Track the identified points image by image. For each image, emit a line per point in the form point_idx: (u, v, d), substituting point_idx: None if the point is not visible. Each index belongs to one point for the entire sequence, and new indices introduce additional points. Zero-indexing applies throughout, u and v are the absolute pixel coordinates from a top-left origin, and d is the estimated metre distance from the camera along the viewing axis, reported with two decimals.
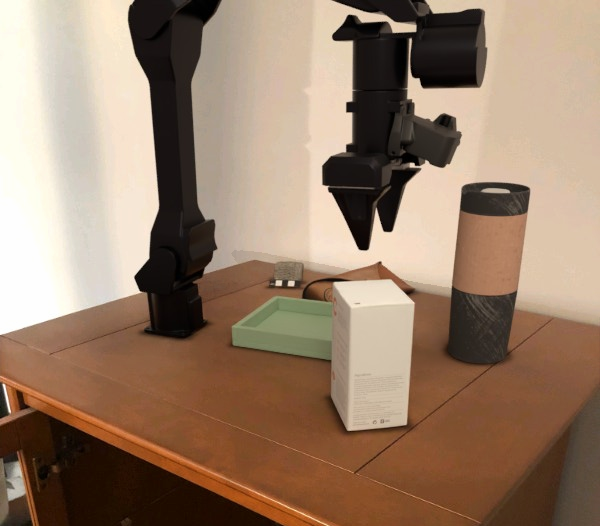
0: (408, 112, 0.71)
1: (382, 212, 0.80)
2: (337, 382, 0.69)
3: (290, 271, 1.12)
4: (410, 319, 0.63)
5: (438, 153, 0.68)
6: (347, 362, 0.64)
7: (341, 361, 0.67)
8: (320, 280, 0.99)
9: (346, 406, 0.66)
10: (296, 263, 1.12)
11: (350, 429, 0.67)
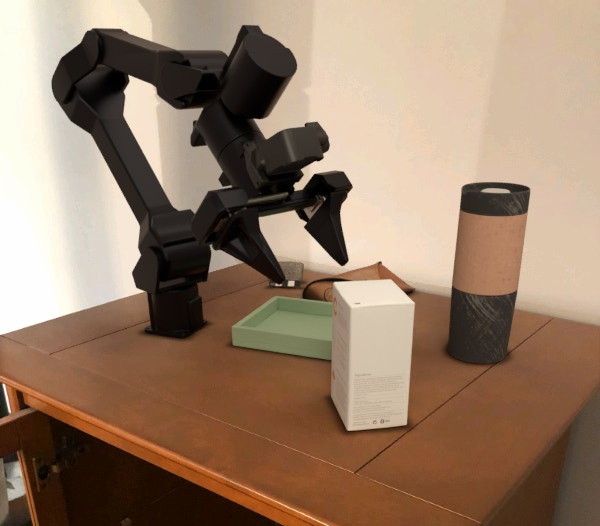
0: None
1: (330, 250, 0.73)
2: (337, 382, 0.69)
3: (290, 271, 1.11)
4: (410, 319, 0.63)
5: (282, 151, 0.64)
6: (347, 362, 0.64)
7: (341, 361, 0.66)
8: (320, 280, 0.99)
9: (346, 406, 0.66)
10: (296, 263, 1.12)
11: (350, 429, 0.67)
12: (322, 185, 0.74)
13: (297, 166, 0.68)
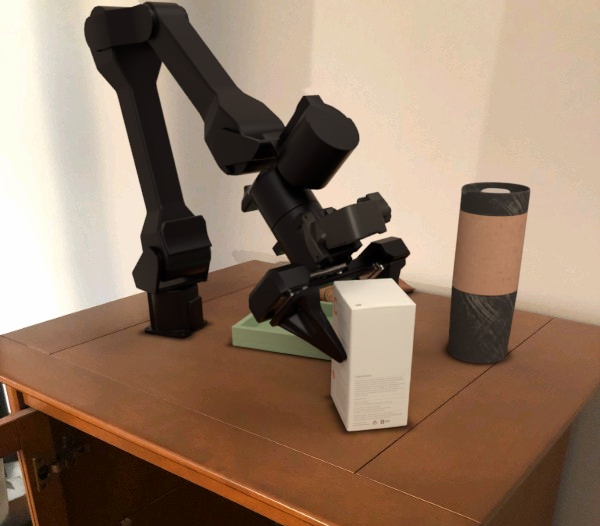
0: None
1: None
2: (337, 382, 0.69)
3: None
4: (411, 321, 0.62)
5: (346, 228, 0.61)
6: (348, 363, 0.64)
7: None
8: None
9: (346, 407, 0.66)
10: None
11: (350, 430, 0.67)
12: (379, 252, 0.71)
13: None
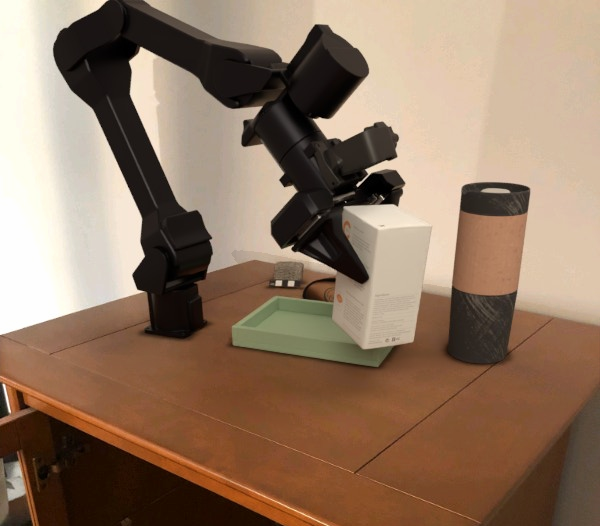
0: None
1: None
2: (347, 304, 0.72)
3: (290, 271, 1.11)
4: (427, 241, 0.67)
5: (365, 152, 0.65)
6: (368, 283, 0.68)
7: (356, 283, 0.70)
8: (320, 280, 0.99)
9: (363, 326, 0.70)
10: (296, 263, 1.12)
11: (365, 348, 0.71)
12: (376, 184, 0.75)
13: (367, 166, 0.69)
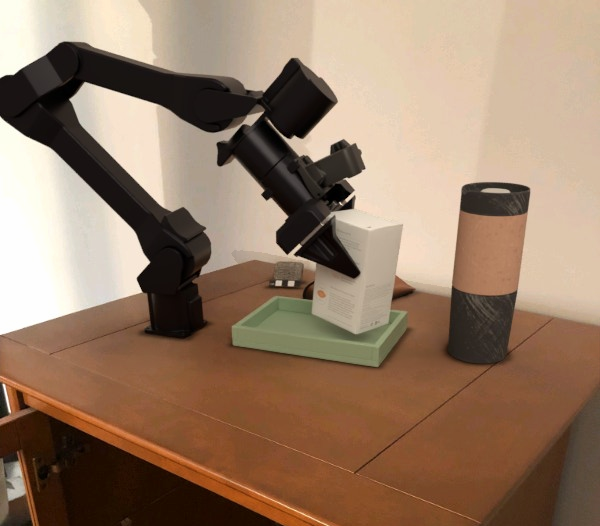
0: (308, 163, 0.80)
1: None
2: (332, 298, 0.83)
3: (290, 271, 1.11)
4: (399, 237, 0.80)
5: (348, 166, 0.76)
6: (359, 277, 0.79)
7: (344, 278, 0.81)
8: None
9: (355, 314, 0.81)
10: (296, 263, 1.12)
11: (357, 333, 0.82)
12: (333, 192, 0.86)
13: None
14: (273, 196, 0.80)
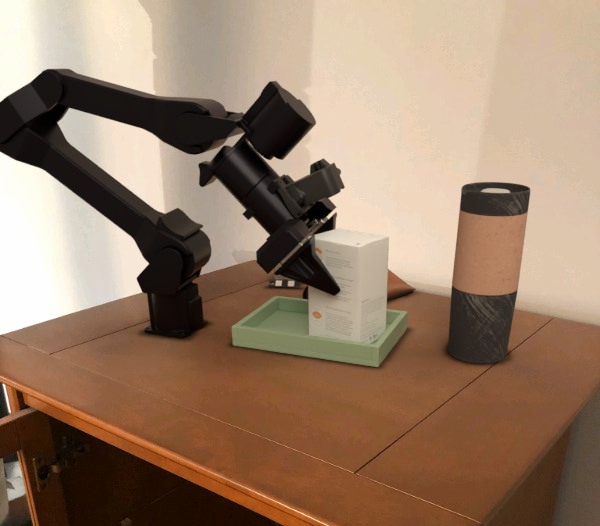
0: (288, 183, 0.82)
1: None
2: (329, 317, 0.84)
3: None
4: (387, 250, 0.82)
5: (326, 186, 0.77)
6: (354, 293, 0.80)
7: (338, 296, 0.82)
8: None
9: (354, 330, 0.82)
10: None
11: None
12: None
13: None
14: (254, 215, 0.81)
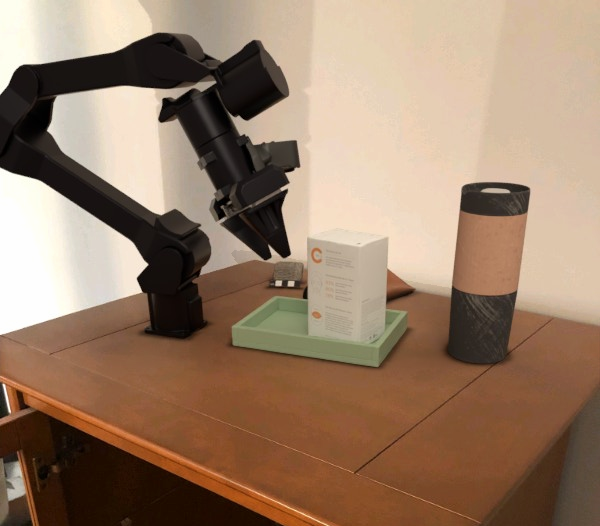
0: None
1: (256, 246, 0.89)
2: (329, 317, 0.84)
3: (290, 271, 1.11)
4: (386, 250, 0.82)
5: (293, 156, 0.81)
6: (354, 293, 0.80)
7: (339, 296, 0.82)
8: None
9: (354, 330, 0.82)
10: (296, 263, 1.12)
11: None
12: None
13: None
14: (213, 162, 0.79)
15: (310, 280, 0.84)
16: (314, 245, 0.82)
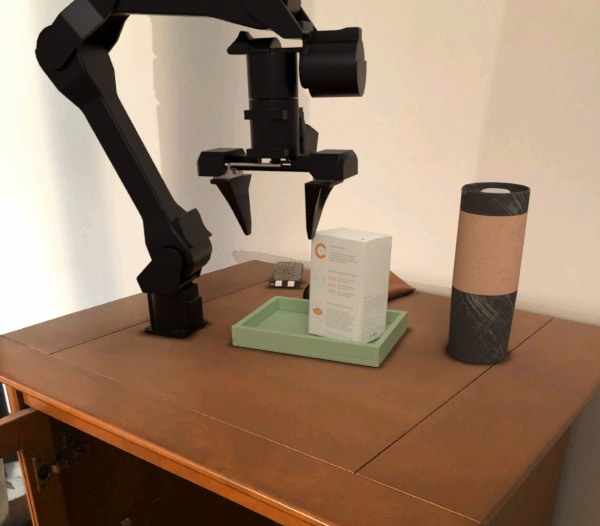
0: None
1: (245, 217, 0.83)
2: (330, 313, 0.84)
3: (290, 271, 1.11)
4: (390, 248, 0.83)
5: (316, 147, 0.84)
6: (357, 288, 0.81)
7: (341, 292, 0.82)
8: None
9: (355, 326, 0.82)
10: (296, 263, 1.12)
11: None
12: None
13: None
14: (283, 120, 0.75)
15: (313, 276, 0.84)
16: (318, 240, 0.82)
